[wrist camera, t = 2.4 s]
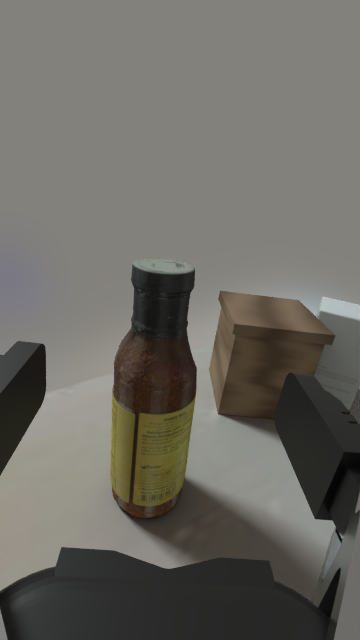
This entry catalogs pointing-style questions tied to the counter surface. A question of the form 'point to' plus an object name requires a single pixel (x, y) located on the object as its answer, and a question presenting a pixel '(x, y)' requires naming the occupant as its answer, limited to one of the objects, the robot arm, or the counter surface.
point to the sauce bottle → (153, 391)
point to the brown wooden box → (262, 351)
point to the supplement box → (340, 350)
